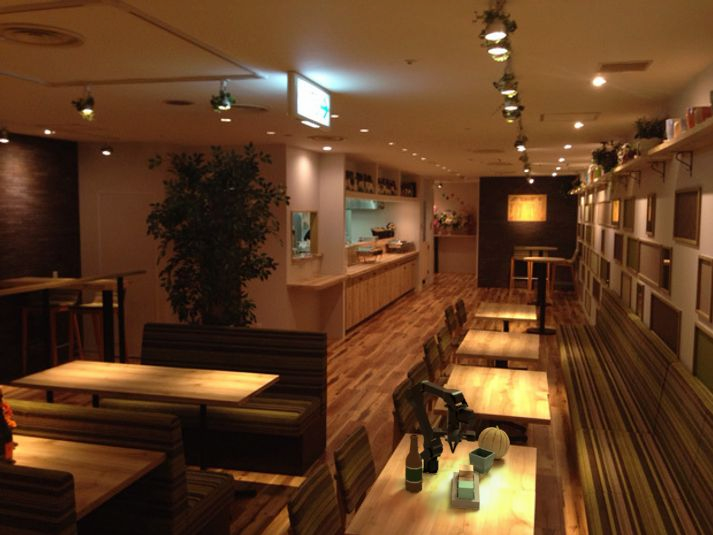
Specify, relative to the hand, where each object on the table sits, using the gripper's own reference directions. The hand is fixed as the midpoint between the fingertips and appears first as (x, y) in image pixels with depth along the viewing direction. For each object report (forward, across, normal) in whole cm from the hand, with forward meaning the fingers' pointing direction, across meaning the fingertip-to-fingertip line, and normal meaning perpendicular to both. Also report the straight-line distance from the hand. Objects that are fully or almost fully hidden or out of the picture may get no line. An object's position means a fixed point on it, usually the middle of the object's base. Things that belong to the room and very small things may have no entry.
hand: (452, 453), depth 276 cm
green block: (+10, +6, -18) cm, 22 cm away
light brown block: (+10, +6, -2) cm, 12 cm away
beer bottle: (+13, -16, -11) cm, 23 cm away
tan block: (+12, +6, -10) cm, 17 cm away
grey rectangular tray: (+12, +6, -10) cm, 17 cm away
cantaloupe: (+13, +19, +28) cm, 36 cm away
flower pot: (+13, +13, +12) cm, 22 cm away
